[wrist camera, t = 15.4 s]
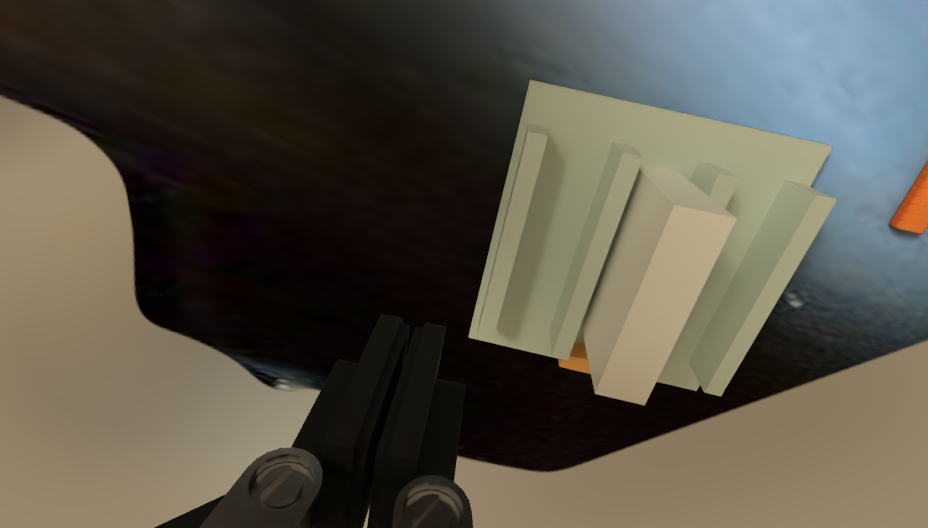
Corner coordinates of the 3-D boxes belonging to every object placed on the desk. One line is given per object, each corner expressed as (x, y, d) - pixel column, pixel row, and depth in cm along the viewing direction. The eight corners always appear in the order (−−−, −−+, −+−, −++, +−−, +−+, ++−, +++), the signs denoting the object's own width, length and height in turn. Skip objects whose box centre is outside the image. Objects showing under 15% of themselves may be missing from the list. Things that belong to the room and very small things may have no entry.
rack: (529, 79, 29) (530, 84, 25) (821, 142, 29) (872, 158, 24) (470, 329, 38) (463, 363, 34) (691, 381, 37) (712, 423, 33)
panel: (633, 162, 29) (674, 204, 21) (679, 172, 29) (737, 218, 21) (578, 314, 35) (594, 393, 27) (617, 323, 35) (644, 405, 27)
